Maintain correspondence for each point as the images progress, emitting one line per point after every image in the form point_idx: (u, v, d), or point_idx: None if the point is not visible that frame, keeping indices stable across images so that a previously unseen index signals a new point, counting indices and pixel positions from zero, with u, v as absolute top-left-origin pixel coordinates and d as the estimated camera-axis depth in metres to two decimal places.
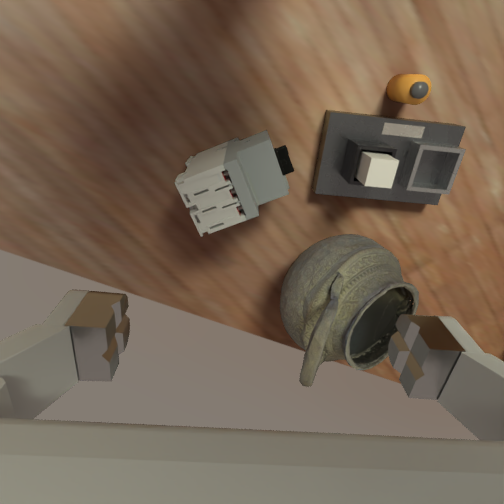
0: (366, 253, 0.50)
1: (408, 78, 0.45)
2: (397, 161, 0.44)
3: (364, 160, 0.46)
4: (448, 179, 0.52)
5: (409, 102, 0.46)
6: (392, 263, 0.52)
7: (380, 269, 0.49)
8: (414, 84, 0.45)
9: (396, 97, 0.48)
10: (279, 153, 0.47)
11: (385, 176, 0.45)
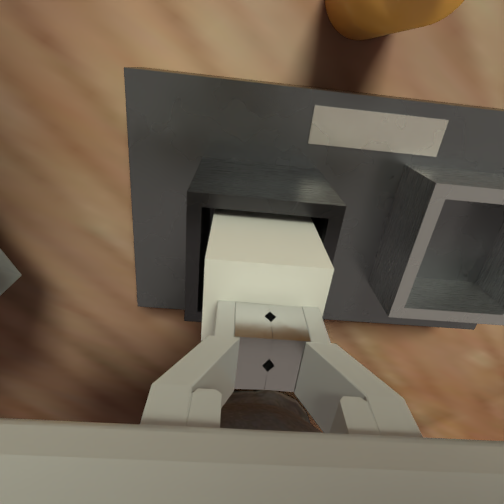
0: None
1: None
2: (326, 270, 0.10)
3: None
4: None
5: (394, 16, 0.11)
6: None
7: None
8: None
9: (349, 11, 0.13)
10: None
11: None
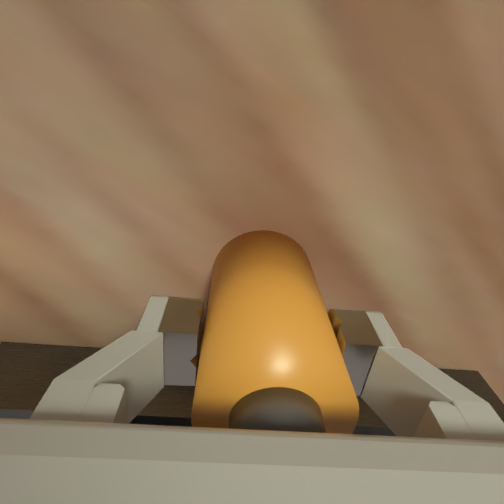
0: None
1: (218, 356, 0.07)
2: None
3: None
4: None
5: None
6: None
7: None
8: (240, 423, 0.07)
9: None
10: None
11: None
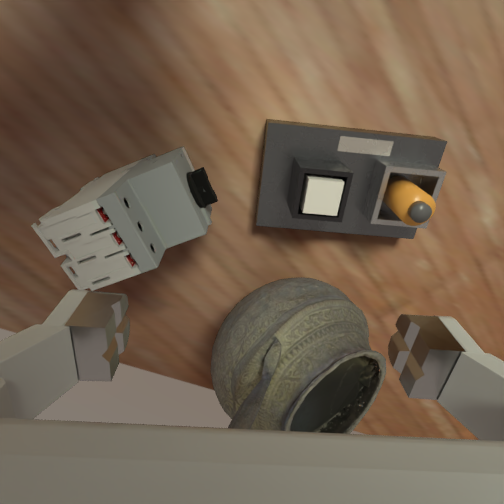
0: (315, 309, 0.38)
1: (406, 196, 0.36)
2: (342, 182, 0.35)
3: (303, 180, 0.37)
4: None
5: (408, 223, 0.37)
6: (352, 318, 0.40)
7: (333, 330, 0.37)
8: (413, 206, 0.35)
9: (392, 210, 0.39)
10: (194, 179, 0.35)
11: (328, 201, 0.36)
